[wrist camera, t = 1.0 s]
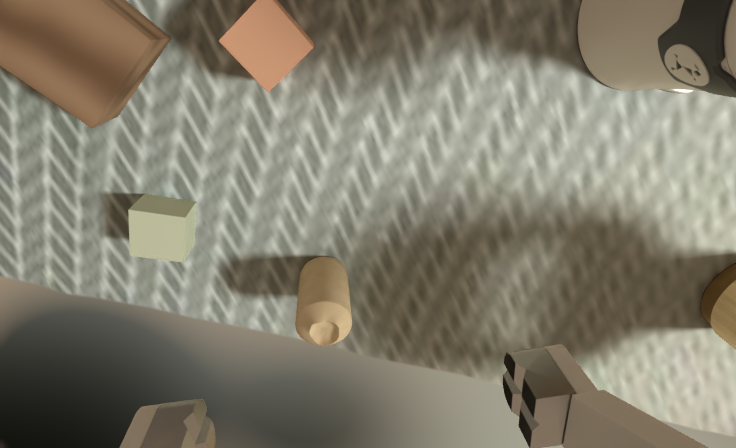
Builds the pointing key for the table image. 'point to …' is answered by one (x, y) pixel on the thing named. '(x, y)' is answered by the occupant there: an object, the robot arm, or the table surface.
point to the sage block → (162, 228)
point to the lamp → (722, 305)
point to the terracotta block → (267, 42)
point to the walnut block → (80, 52)
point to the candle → (323, 302)
